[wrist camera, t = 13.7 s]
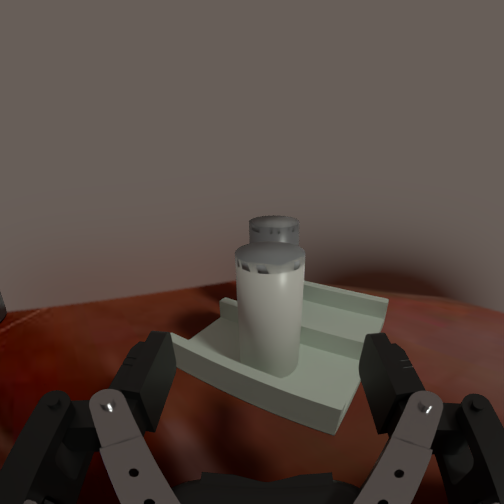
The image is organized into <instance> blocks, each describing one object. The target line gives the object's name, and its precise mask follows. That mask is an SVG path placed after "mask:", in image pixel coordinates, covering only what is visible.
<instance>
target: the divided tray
mask: <svg viewBox="0 0 504 504" xmlns="http://www.w3.org/2000/svg"><path fill="white" fill-rule="evenodd" d="M388 301H389V299H386V298H381V297H376V296H372V295H367V294H362V293H358V292H353V291H348V290H344V289H339V288H335V287H330V286H326V285H321V284H317V283H312V282H308V281H304V289H303V306H302V321H301V334H300V347H299V359H298V365H297V368H296V369H295V370H294V372H292V373H291V374H290V375H288V376H286V377H284V378H281V379H280V378H278V377H275V376H272V375H270V374H267V373H264V372H262V371H259V370H257V369H254V368H251V367H249V366H246V365H244V364H241V360H240V343H239V325H238V306H237V301H236V300H232V299H229V298H226V297H225V298H223V299H222V300H220V301H219V304H220V316H221V317H220V318H219V319H217V320H216V321H215V322H213V323H212V324H211V325H209V326H208V327H206V328H205V329H204V330H202V331H201V332H199V333H198V334H197V335H195V336H194V337H192V338H191V339H190V340H187V339H185V338H182V337H180V336H178V335H176V334H174V333H170V334H171V338H172V343H173V348H174V353H175V358H176V367H178V368H179V369H181V370H183V371H185V372H187V373H189V374H191V375H192V376H194V377H196V378H198V379H200V380H202V381H204V382H206V383H208V384H210V385H212V386H214V387H216V388H218V389H220V390H222V391H224V392H226V393H228V394H231V395H233V396H235V397H237V398H239V399H241V400H244V401H246V402H248V403H250V404H253V405H255V406H257V407H259V408H262V409H264V410H267V411H269V412H271V413H274V414H276V415H279V416H281V417H284V418H286V419H289V420H292V421H294V422H297V423H299V424H302V425H305V426H308V427H311V428H313V429H316V430H319V431H322V432H325V433H328V434H331V435H335V433H336V431H337V429H338V427H339V425H340V423H341V421H342V420H343V418H344V416H345V414H346V411H347V409H348V407H349V405H350V403H351V401H352V399H353V397H354V395H355V393H356V390H357V388H358V386H359V384H360V381H361V379H360V376H359V360H360V356H361V352H362V348H363V344H364V340H365V336H366V335H367V334H372V333H380V332H381V329H382V327H383V324H384V320H385V316H386V311H387V306H388Z"/></svg>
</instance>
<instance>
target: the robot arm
mask: <svg viewBox="0 0 504 504" xmlns="http://www.w3.org/2000/svg"><path fill="white" fill-rule="evenodd" d="M5 315H6V307H5V305H4V302H3V299H2V296H1V293H0V322H1V321H2V319H3V318H4V317H5ZM175 373H176V358H175V353H174V348H173V343H172V338H171V334H170V333H169V332H160V331H151V332H150V334H149V336H148V338H147V340H146V341H145V342H139V343H137V344H136V345H135V346H134V347H132V348H131V349H130V351H129V353H128V355H127V356H126V358H125V360H124V362H123V365H121V367H120V369H119V370H118V372H117V374H116V376H115V378H114V379H113V381H112V383H111V385H110V387H109V388H108V389H104V390H101V391H99V392H97V393H95V394H94V395H93V396H92V398H91V399H90V400H83V401H71V400H70V398H69V396H68V395H67V394H66V393H65V392H63V391H59V390H56V391H51V392H48V393H46V394H45V395H44V396H43V397H42V398H41V399H40V401H39V402H38V404H37V406H36V407H35V409H34V411H33V412H32V414H31V416H30V417H29V419H28V421H27V423H26V424H25V426H24V428H23V429H22V431H21V433H20V435H19V437H18V438H17V440H16V442H15V444H14V446H13V448H12V449H11V451H10V453H9V455H8V457H7V459H6V461H5V463H4V465H3V467H2V469H1V471H0V504H76V502H77V499H78V496H79V493H80V490H81V487H82V484H83V481H84V478H85V476H86V473H87V470H88V467H89V465H90V462H91V459H92V456H93V454H94V451H100V453H101V456H102V459H103V461H104V464H105V467H106V469H107V472H108V475H109V477H110V480H111V482H112V484H113V487H114V489H115V492H116V494H117V496H118V498H119V501H120V503H121V504H411V502H412V500H413V498H414V496H415V494H416V492H417V489H418V487H419V485H420V483H421V480H422V478H423V475H424V473H425V471H426V468H427V466H428V463H429V460H430V458H431V455H432V454H435V457H436V460H437V463H438V466H439V469H440V473H441V476H442V480H443V483H444V487H445V491H446V494H447V498H448V502H449V504H504V428H503V426H502V424H501V422H500V420H499V418H498V416H497V415H496V413H495V411H494V409H493V407H492V405H491V404H490V402H489V400H488V399H487V398H485V397H484V396H482V395H479V394H469V395H467V396H466V397H465V398H464V399H463V401H462V402H461V404H456V403H442V400H441V399H440V398H439V397H438V396H437V395H436V394H434V393H432V392H429V391H426V390H425V388H424V386H423V384H422V382H421V381H420V379H419V377H418V375H417V373H416V371H415V369H414V367H412V364H411V362H410V360H409V358H408V356H407V355H406V353H405V351H404V350H403V349H402V348H401V347H399V346H398V345H397V344H396V343H395V344H391V343H390V341H389V339H388V337H387V336H386V334H385V333H372V334H367V335H366V336H365V340H364V344H363V348H362V352H361V356H360V360H359V376H360V379H361V382H362V385H363V388H364V391H365V394H366V397H367V400H368V403H369V407H370V410H371V413H372V416H373V419H374V423H375V426H376V429H377V433H378V434H384V433H388V436H389V439H388V441H387V443H386V445H385V447H384V448H383V450H382V452H381V454H380V456H379V458H378V459H377V461H376V463H375V465H374V466H373V468H372V470H371V471H370V473H369V475H368V476H367V478H366V479H365V481H364V483H363V484H362V486H361V487H360V488H358V487H356V486H354V485H352V484H349V483H346V482H342V481H337V480H333V478H332V472H331V473H321V474H307V475H298V476H294V477H290V478H286V479H282V480H277V481H273V482H261V481H257V480H253V479H249V478H245V477H241V476H237V475H232V474H218V473H208V472H202V475H201V479H200V480H193V481H188V482H185V483H182V484H179V485H177V486H174V487H173V488H170V486H169V484H168V483H167V481H166V479H165V478H164V476H163V474H162V472H161V471H160V469H159V467H158V465H157V463H156V462H155V460H154V458H153V456H152V454H151V452H150V450H149V448H148V446H147V444H146V442H145V440H144V438H143V437H144V434H145V431H149V432H155V431H156V428H157V425H158V422H159V419H160V416H161V413H162V410H163V408H164V405H165V402H166V399H167V396H168V393H169V390H170V387H171V385H172V382H173V379H174V376H175ZM468 445H469V446H468ZM469 448H470V449H469ZM470 450H471V451H470ZM471 453H472V454H471Z"/></svg>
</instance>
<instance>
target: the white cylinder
mask: <svg viewBox="0 0 504 504" xmlns="http://www.w3.org/2000/svg"><path fill="white" fill-rule="evenodd" d="M235 265H236V286H237V306H238V325H239V343H240V360H241V364H244V365H246V366H249V367H251V368H254V369H257V370H259V371H262V372H264V373H267V374H270V375H272V376H275V377H278V378H280V379H281V378H284V377H286V376H288V375H290V374H291V373H292V372H294V370H295V369H296V368H297V365H298V359H299V347H300V334H301V321H302V306H303V289H304V270H305V269H304V268H305V251H304V250H303V249H302V248H301V247H299V246H297V245H294V244H290V243H285V242H276V241H265V242H255V243H250V244H247V245H244V246H241V247H240V248H238V249H237V250H236V252H235Z"/></svg>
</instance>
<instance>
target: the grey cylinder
mask: <svg viewBox="0 0 504 504" xmlns="http://www.w3.org/2000/svg"><path fill="white" fill-rule="evenodd" d="M249 232H250V233H249V234H250V243H255V242H265V241H276V242H285V243H290V244H294V245H297V246H299V220H297V219H295V218H292V217H286V216H262V217H256V218H253V219H251V220H250V221H249Z"/></svg>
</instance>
